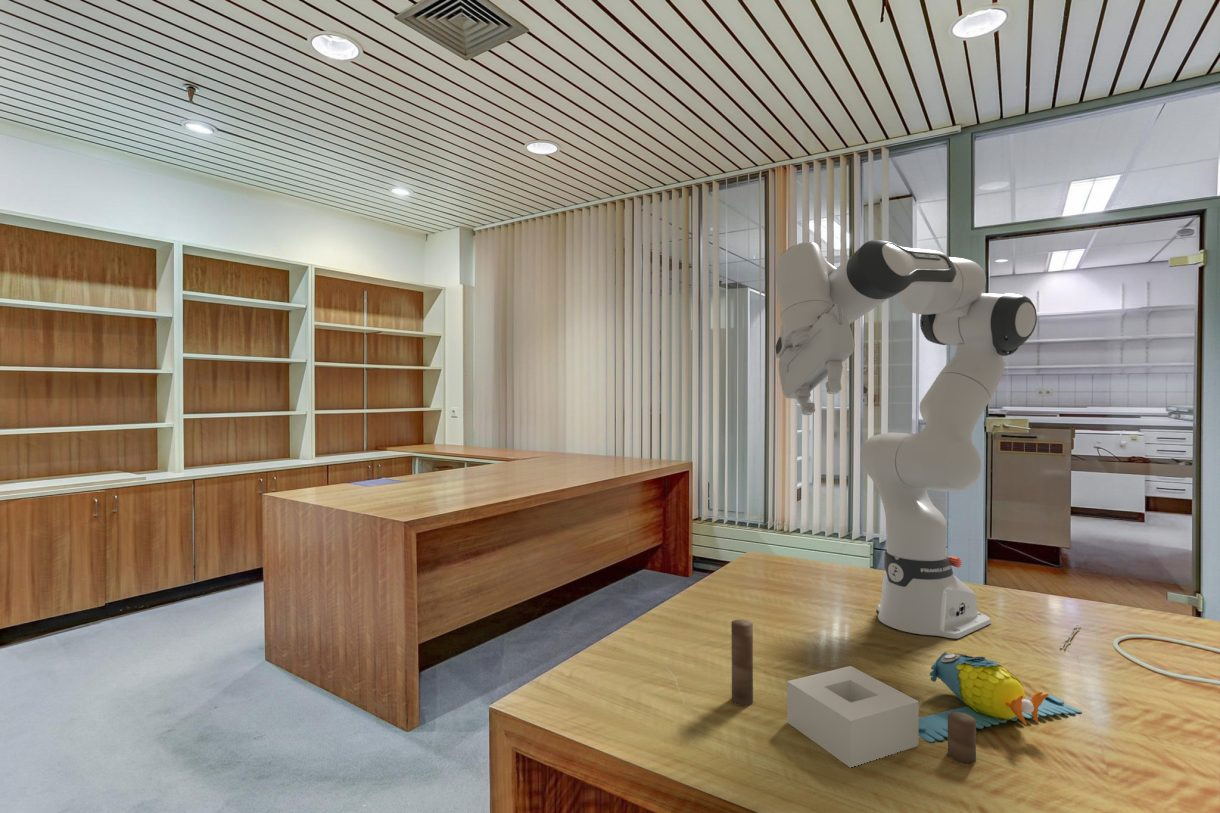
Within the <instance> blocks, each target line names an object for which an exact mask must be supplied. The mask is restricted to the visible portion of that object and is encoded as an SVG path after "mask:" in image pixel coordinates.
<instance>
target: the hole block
mask: <svg viewBox="0 0 1220 813" xmlns="http://www.w3.org/2000/svg"><path fill="white" fill-rule="evenodd" d="M786 688H787V690H786V697H787V698H786V699H787V700H786V701H787V702H786V703H787V704H786V715H787V716H786V718H787V719H786V722H787V724H789V725H790V726H791V727H793V728H794V729H795V730H797V731H798V732H800V733H801V734H803V735H804V736H805V737H807V738H808V739H809V740H811V741H812V742H814V743H815V744H816V745H817V746H819V747H821V748H822V749H824V751H826V752H828V753H829V754H831V755H832V756H833V757H835V758H836V759H838V760H839V761H840V762H841V763H842V764H844V765H846V766H847V767H849V768H850V769H852V768H851V767H853V768H855V767H854V766H856V767H859V766H861V764H862V765H865V764H868V763H870V762H869V761H871V762H874V761H876V759H877V760H880V759H882V758H886V757H889V756H892V755H895V754H898V753H901V752H904V751H907V750H911V749H913V748H917V747H919V746H920V745H919V741H920V740H919V737H920V736H919V718H920V717H919V715H920V712H919V707H920V706H919V700H917V699H915V698H913V697H911V696H910V695H907V694H906V693H903V692H901V691H899V690H897V689H896V688H893V687H892V686H890V685H887V684H886V683H884V682H883V681H881V680H878V679H876V678H874V677H872V676H870V675H869V674H867V673H865V672H863V671H861V670H859V669H857V668H856V667H854V666H852V665H849V666H845V667H840V668H836V669H833V670H828V671H823V672H820V673H819V672H818V673H816V674H811V675H807V676H803V677H799V678H794V679H790V680H787V682H786ZM900 751H901V752H900ZM897 752H898V753H897ZM891 754H892V755H891ZM888 755H889V756H888ZM885 756H886V757H885ZM879 758H880V759H879ZM873 760H874V761H873ZM867 762H868V763H867ZM864 763H865V764H864ZM858 765H859V766H858Z"/></svg>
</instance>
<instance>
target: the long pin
mask: <svg viewBox="0 0 1220 813" xmlns="http://www.w3.org/2000/svg"><path fill="white" fill-rule="evenodd" d="M753 628H754V623H753V622H752V621H750V620H747V619H735V620H732V621H731V702H732V703H734V705H738V706H740V707H741V706H742V707H747V706H751V705H753V703H754V664H753V663H754V654H753V653H754V645H753V644H754V641H753V640H754V635H753V634H754V629H753Z"/></svg>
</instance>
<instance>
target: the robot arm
mask: <svg viewBox="0 0 1220 813" xmlns="http://www.w3.org/2000/svg"><path fill="white" fill-rule="evenodd" d="M775 278H776V279H775V281H776V291H777V296H778V300H779V302H780V304H781V312H780V318H781V326H780V331H779V335H778V336H779V337H778V340H777V342H776V344H775V347H774V357H775V358H776V359H779V361H778V374H779V380H780V385H781V391H782V393H783V395H784V396H785V398H786V399H793V400H795V399H796V400H797V402H798V404H799V405H800V408H801V412H802V413H801V414H802V415H803V416H811V415H813V413H815V412H816V407H815V406H816V405H815V402H812V401H811V398H810V397H811V396H812V394H811V392H812V391H813V390H814V389H815V388H816V387H818V386H819V384H821V383H822V382H823V381H824V380H825V379H826V378H827V381H826V382H825V387H826V393H827V394H829V395H832V394H833V395H837V394H838V393H839V392H840V391H841V390H843V389H842V384H841V382H842V381H841V380H842V373H843V368H844V367H843V362H845V361H846V360H847V359H848V358H849V357H851V355H852V354H853V353H854V351H855V345H856V344H855V339H854V335H853V332H852V328H851V324H852V323H855V321H857V320H858V319H860V318H862V317H863V316H865V315H867V313H869V312H871V310H874V309H875V308H877V307H879V305H881V304H883V303H884V302H885V301H887V300H889V299H890V298H892V297H895V296H897V298H898V301H899V303H900V304H901V305H902V306H903V308H905V309H906V310H907V311H908V312H910V313H913V314H915V315H920V318H919V325H920V331H921V333H922V334H923V337H924V338H925V339H926V340H927V341H928V342H930V343H933V344H936V345H937V344H938V345H940V346H941V345H942V346H947V345H950V346H956V350H955V353H954V355H953V357H952V358H951V359H949V361H948V362H947V363H946V365H945V366H943V369H942V370H941V371H940V372H939V374H938V375H937V376H936V378H935V380H934V381H933V383H932V384H931V385H930V387H929V388H928V390H927V392H926V393H925V394H924V396H923V398H922V399H921V401H920V403H919V412H920V416H921V418H922V420H923V421H924V422H925V426H924V427H923V429H922V430H921V431H919V432H917V433H910V432H909V433H906V432H885V433H879V434H876V435H872V436H870V437H868V438H867V439H865V441H864V442H863V444H862V446H861V449H860V452H859V453H860V455H859V462H860V465H861V468H862V469H863V471H864V472H865V474H867V475H868V477H869V478H870V479H871V481H872V482H873V484H874V485H875V488H876V490H877V491H878V494H879V497H880V499H881V503H882V505H883V510H884V515H885V527H886V528H885V529H886V550H885V551H884V557H883V565H884V566H883V568H884V569H885V573H884V574H883V577H882V578H883V579H882V584H881V586H882V587H881V594H880V596H881V597H880V603H878V604H877V611H878V616H877V618H878V620H879V621H880V622H881V623H882V624H883V625H886V626H888V627H890V628H893V629H896V630H898V631H901V632H905V633H910V634H918V635H923V636H937V637H944V638H948V639H960V638H962V637H964V636H966V635H968V634H970V633H971V634H972V633H973V632H975V631H977V630H980V629H981V628H984V627H986V626H988V625H990V624H991V623H992V621H991V617H989V615H986V614H984V613H982V612H981V611H978V602H977V595H976V593H975V592H974V591H973V590H972V589H971V588H970V587H968V586H967V585H966V584H965V583H964V582H962V581H961V580H960V579H959V578H958V577H957V576H955V575H954V571H953V568H952V566H953V567H955V568H960V567H961V565H963V564H962V563H963V561H962V558H961V557H955V556H953V555H950V556H949V557H948V556H947V520H946V518H945V515H943V513H942V512H941V511H940V510H939V509H938V508H937V507H936V506H935V505H934V504H933V502H932V501H931V499H930V497H929V494H928V491H927V490H929V491H935V492H956V491H957V492H958V491H959V492H960V491H965V490H968V489H970V488H971V487H972V486H973V485H974V484H976V482H977V480H978V478H979V477H980V475H981V470H982V460H981V456H980V453H979V452H978V449H977V448H976V446H974V444H973V443H972V438H973V431H974V429H975V426H976V425H977V423H978V421H979V420H980V417H981V416H982V414H983V413H984V411H985V409H986V408H987V406H988V405H989V403H990V402H991V400H992V398H993V396H994V395H995V393H996V391H997V389H998V386H999V384H1000V382H1001V379H1002V378H1003V377H1002V376H1003V374H1004V371H1005V365H1006V364H1005V359H1004V357H1007V356H1010V355H1013V354H1014V353H1015V352H1017V351H1018V349H1019V347H1021V346H1022V345H1024V344H1025V343H1026V342H1027V341H1028V339H1029V338H1030V337H1031V336H1032V334H1033V333H1034V331H1035V328H1036V326H1037V320H1038V318H1037V316H1038V314H1037V313H1038V312H1037V309H1036V306H1035V304H1034V303H1033V301H1032V300H1031V299H1030V298H1029V297H1028V296H1025V295H1022V294H1019V293H1018V294H1017V293H1012V292H1007V293H1004V294H1003V293H983V292H984V291H985V288H986V284H987V277H986V273H985V271H984V269H983V268H982V266H980V265H979V264H978V263H977V262H975V261H973V260H971V259H966V258H962V257H954V256H953V257H952V256H948V255H947V254H945V253H944V252H941V251H938V250H933V249H925V248H912V247H906V246H901V245H897V244H896V243H893V242H891V241H886V240H883V239H882V240H881V239H872V240H868V241H866V242H865V243H863V244H862V245H861V246H860V247H859V248H858V249H856V251H854V253H853V254H852V255H851V256H850V257H849V258H847V259H846V260H845V261H843V263H841V264H840V265H839V266H838V267H835V266H834V265H832V264H831V263H830V262H829V261H828V260H826V258H825V257H824V255H823V252H822V250H821V248H820V246H819V244H817V243H816V242H812V241H811V242H809V241H807V242H806V241H805V242H800V243H797V244H795V245H792V246H790V247H789V248H788V249H786V250H785V251H784V252H783V253H781V254H780V256H779V257H778V259H777V261H776V268H775Z"/></svg>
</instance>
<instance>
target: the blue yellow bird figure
mask: <svg viewBox="0 0 1220 813" xmlns="http://www.w3.org/2000/svg"><path fill="white" fill-rule="evenodd" d="M930 669H931V671H930V672H929V676H931V677H930V681H931V682H933V683H934V682H937V679H939V680H941V682H943V685H944V684H945V686H946V687H947V688H948V689H949V690H950V691H951V692H952V693H953V694H954V695H955V696H956V697H957V698H958V699H960V701H961V702H962V703H964V704H965V705H966V706H963V707H959V708H954V709H949V710H946V711H942V712H939V713H934V714H931V715H927V716H922V717H919V737H920V738H921V739H923V740H924V741H925V742H927V743H935V742H936V741H938V742H943V741H944V740H945V738H947V739H948V714H949V713H951V712H960V713H964V714H967V715H970V716H972V717H973V718H974V719H975V720H976V729H978V730H979V729H980V730H981V729H984V727H991V726H992V725H994V726H997V725H999V724H1006V723H1007V721H1013V722H1015V721H1017V720H1019V721H1020V722H1022V723H1023V725H1024V726H1027V725H1028V722H1027V721H1026V719H1032V718H1033V720H1034V721H1035V722H1036V724H1038V723H1039V718H1040V717H1047V715H1048V716H1054V715H1062V714H1065V715H1069V714H1071V715H1076V714H1081V713H1083V711H1081V710H1080V709H1079V708H1075V707H1073V706H1071V705H1068V704H1066V703H1065V701H1064V700H1063V699H1061V698H1060V697H1057V696H1056V695H1050V694H1049V693H1043V691H1039V692H1036V693H1035V694H1034V695H1033V696H1032V697H1026V693H1025V689H1024V685H1023V684H1022V682H1021V681H1020V679H1019V678H1018V677H1016V676H1015V675H1013V673H1012V672H1011V671H1010V670H1008V669H1006V668H1005V667H1004V666H1003V665H1001V664H1000V662H999V661H997V660H994V661H991V659H986V657H984V656H975V657H973V656H972V655H967V654H962V653H961V654H960V653H947V652H946V651H944V652H943V653H942V654H941V655H940V656H939V657H938V658H937V660H935V662H934V663H933V664H932V665H931V667H930Z"/></svg>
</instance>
